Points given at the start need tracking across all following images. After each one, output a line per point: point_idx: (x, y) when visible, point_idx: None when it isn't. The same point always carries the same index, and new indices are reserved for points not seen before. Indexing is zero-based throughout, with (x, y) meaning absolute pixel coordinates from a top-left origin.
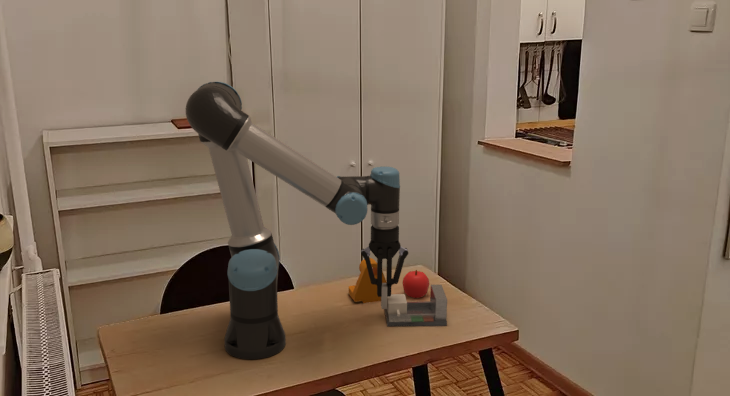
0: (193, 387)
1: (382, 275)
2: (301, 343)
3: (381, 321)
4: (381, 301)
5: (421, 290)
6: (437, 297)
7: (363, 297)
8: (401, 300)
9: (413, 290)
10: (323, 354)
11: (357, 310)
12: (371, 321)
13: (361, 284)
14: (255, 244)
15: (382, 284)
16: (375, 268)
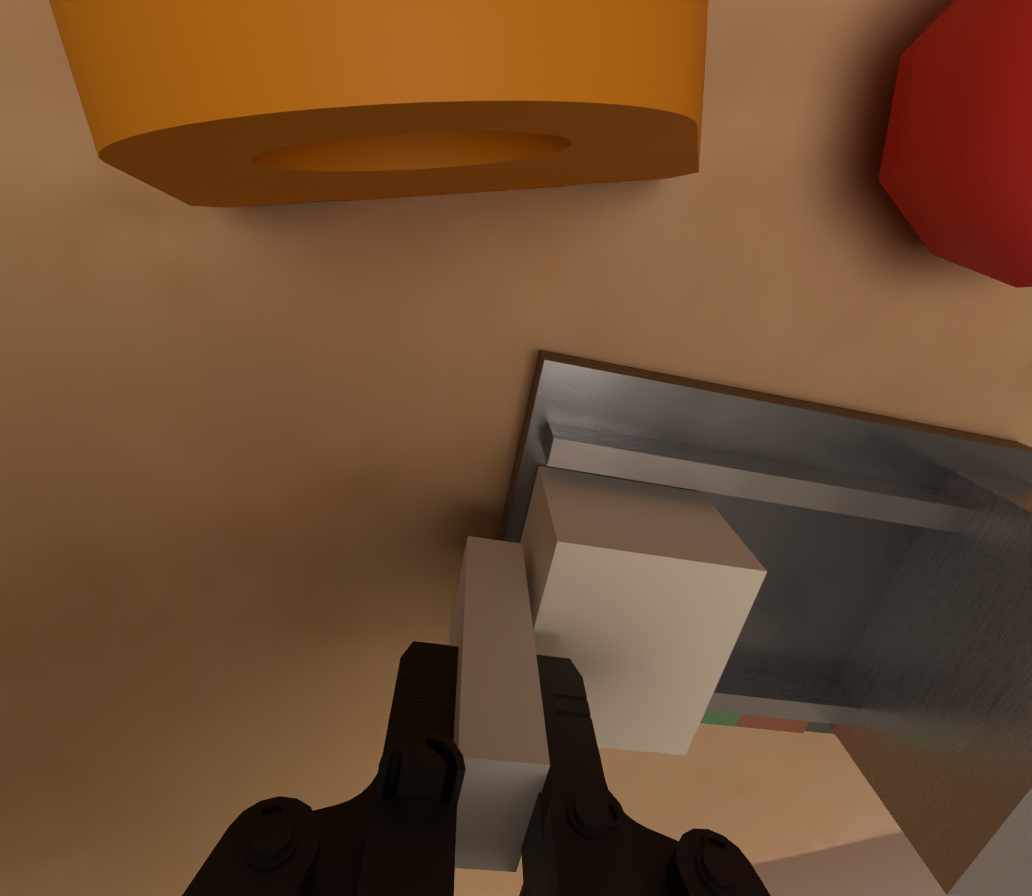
0: None
1: (660, 153)
2: None
3: (445, 595)
4: (452, 644)
5: None
6: (991, 861)
7: (326, 199)
8: (659, 699)
9: (977, 256)
10: (12, 885)
11: (261, 365)
12: (364, 583)
13: (217, 191)
14: None
15: (464, 805)
16: None
